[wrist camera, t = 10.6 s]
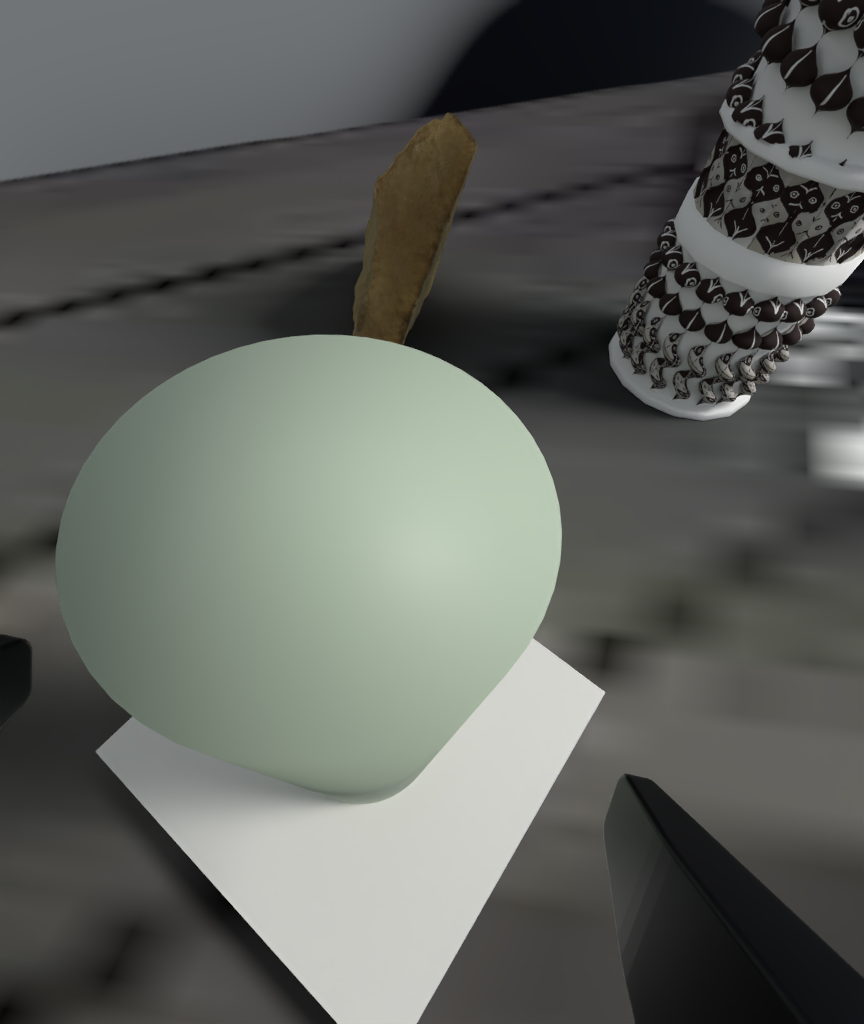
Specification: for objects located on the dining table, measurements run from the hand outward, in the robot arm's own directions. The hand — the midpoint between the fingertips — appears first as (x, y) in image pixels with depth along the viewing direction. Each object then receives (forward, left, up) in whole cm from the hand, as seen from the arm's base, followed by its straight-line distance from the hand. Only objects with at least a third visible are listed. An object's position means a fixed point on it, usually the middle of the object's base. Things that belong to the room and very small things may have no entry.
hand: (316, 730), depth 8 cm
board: (+2, +1, -12) cm, 12 cm away
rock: (+19, +15, -12) cm, 27 cm away
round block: (+1, +1, -10) cm, 10 cm away
